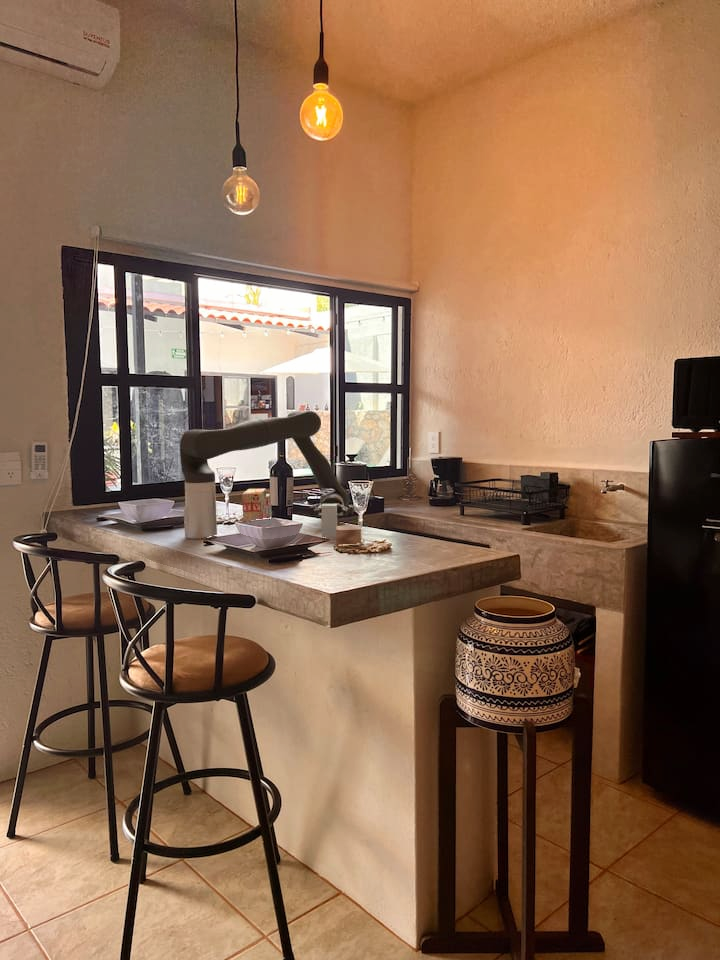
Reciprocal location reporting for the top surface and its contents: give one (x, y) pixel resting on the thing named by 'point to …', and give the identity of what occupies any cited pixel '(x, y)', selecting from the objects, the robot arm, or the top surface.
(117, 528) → the top surface
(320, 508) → the robot arm
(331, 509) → the tall grey block
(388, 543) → the top surface
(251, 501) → the tan printed box
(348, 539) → the walnut base block
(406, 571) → the top surface
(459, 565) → the top surface
